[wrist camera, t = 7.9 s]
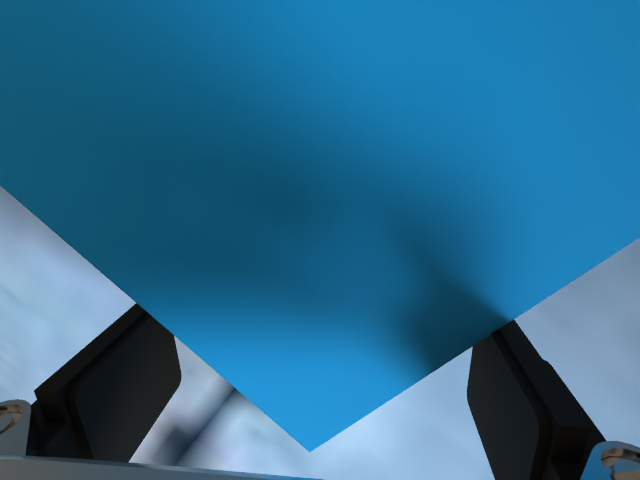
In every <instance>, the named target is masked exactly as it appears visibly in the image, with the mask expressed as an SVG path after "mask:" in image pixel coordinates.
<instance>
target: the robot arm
mask: <svg viewBox="0 0 640 480" xmlns="http://www.w3.org/2000/svg"><path fill="white" fill-rule="evenodd" d="M180 382H181V369H180V364H179V359H178V354H177V349H176V344H175V339H174V335H173V334H172V333H171V332H170V331H169V330H168V329H166V328H165V327H164V326H163V325H162V324H161V323H159V322H158V321H157V320H156V319H155V318H154V317H152V315H150V314H149V313H148V312H147V311H146V310H144V309H143V308H142V307H141V306H140V305H139V304H137V303H136V304H135V305H134V306H133V307H131V308H130V309H129V310H128V311H127V312H126V313H124V314H123V315H122V316H121V317H120V318H119V319H117V320H116V321H115V322H114V323H113V324H112V325H110V326H109V327H108V328H107V329H106V330H105V331H103V332H102V333H101V334H100V335H99V336H97V337H96V338H95V339H94V340H93V341H92V342H90V343H89V344H88V345H87V346H86V347H85V348H83V349H82V350H81V351H80V352H79V353H78V354H76V355H75V356H74V357H73V358H72V359H71V360H69V361H68V362H67V363H66V364H65V365H63V366H62V367H61V368H60V369H59V370H58V371H56V372H55V373H54V374H53V375H52V376H51V377H49V378H48V379H47V380H46V381H45V382H44V383H42V384H41V385H40V386H39V387H38V388H37V389H35V390H34V392H35V395H36V398H37V400H36V401H35V402H34V403H33V404H32V405H30V403H28V402H27V401H26V400H19V399H16V400H7V401H4V402H0V480H322V479H311V478H300V477H289V476H278V475H267V474H256V473H245V472H234V471H222V470H211V469H200V468H188V467H176V466H164V465H152V464H140V463H128V462H129V460H130V459H131V457H132V456H133V454H134V453H135V451H136V450H137V448H138V447H139V445H140V444H141V442H142V441H143V439H144V438H145V436H146V435H147V433H148V432H149V430H150V429H151V427H152V426H153V424H154V423H155V421H156V420H157V418H158V417H159V415H160V414H161V412H162V411H163V409H164V408H165V406H166V405H167V403H168V402H169V400H170V399H171V397H172V396H173V394H174V393H175V391H176V390H177V388H178V387H179V385H180ZM467 400H468V404H469V407H470V410H471V413H472V416H473V419H474V421H475V424H476V427H477V430H478V433H479V436H480V438H481V441H482V444H483V447H484V450H485V452H486V455H487V458H488V461H489V464H490V467H491V469H492V472H493V475H494V478H495V480H640V448H639V447H636V446H634V445H631V444H627V443H623V442H618V441H606V440H605V438H604V437H603V435H602V434H601V433H600V431H599V430H598V429H597V427H596V426H595V424H594V423H593V422H592V420H591V419H590V418H589V416H588V415H587V414H586V412H585V411H584V409H583V408H582V407H581V405H580V404H579V403H578V401H577V400H576V399H575V397H574V396H573V394H572V393H571V392H570V390H569V389H568V388H567V386H566V385H565V383H564V382H563V381H562V379H561V378H560V377H559V375H558V374H557V373H556V371H555V370H554V368H553V367H552V366H551V365H550V364H549V363H548V362H547V361H545V360H543V359H542V358H541V356H540V355H539V354H538V352H537V351H536V349H535V348H534V347H533V345H532V344H531V342H530V341H529V340H528V338H527V337H526V335H525V334H524V333H523V331H522V330H521V328H520V327H519V326H518V324H517V323H516V321H515V320H514V319H513V320H512V321H510V322H509V323H507V324H506V325H504V326H503V327H501V328H500V329H498V330H496V331H495V332H493V333H490V335H489V336H487V337H486V338H484V339H483V340H481V341H480V342H478V343H477V344H475V345H473V350H472V357H471V364H470V372H469V379H468V387H467Z"/></svg>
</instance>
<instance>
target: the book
mask: <svg viewBox="0 0 640 480" xmlns="http://www.w3.org/2000/svg"><path fill="white" fill-rule="evenodd" d="M0 185H1V186H2V187H3V188H4V189H5V190H6V191H8V192H9V193H10V194H11V195H12V196H13V197H15V198H16V199H17V200H18V201H19V202H20V203H22V204H23V205H24V206H25V207H26V208H27V209H28V210H30V211H31V212H32V213H33V214H34V215H35V216H37V217H38V218H39V219H40V220H41V221H42V222H44V223H45V224H46V225H47V226H48V227H49V228H50V229H52V230H53V231H54V232H55V233H56V234H57V235H59V236H60V237H61V238H62V239H63V240H64V241H66V242H67V243H68V244H69V245H70V246H71V247H73V248H74V249H75V250H76V251H77V252H78V253H79V254H81V255H82V256H83V257H84V258H85V259H86V260H88V261H89V262H90V263H91V264H92V265H93V266H95V267H96V268H97V269H98V270H99V271H100V272H101V273H103V274H104V275H105V276H106V277H107V278H108V279H110V280H111V281H112V282H113V283H114V284H115V285H117V286H118V287H119V288H120V289H121V290H122V291H124V292H125V293H126V294H127V295H128V296H129V297H130V298H132V299H133V300H134V301H135V302H136V303H137V304H139V305H140V306H141V307H142V308H143V309H144V310H146V311H147V312H148V313H149V314H150V315H152V317H154V318H155V319H156V320H157V321H158V322H159V323H161V324H162V325H163V326H164V327H165V328H166V329H168V330H169V331H170V332H171V333H172V334H173V335H175V336H176V337H177V338H178V339H179V340H180V341H181V342H183V343H184V344H185V345H186V346H187V347H188V348H190V349H191V350H192V351H193V352H194V353H195V354H197V355H198V356H199V357H200V358H201V359H202V360H203V361H205V362H206V363H207V364H208V365H209V366H210V367H212V368H213V369H214V370H215V371H216V372H217V373H219V374H220V375H221V376H222V377H223V378H224V379H226V380H227V381H228V382H229V383H230V384H231V385H232V386H234V387H235V388H236V389H237V390H238V391H239V392H241V393H242V394H243V395H244V396H245V397H246V398H248V399H249V400H250V401H251V402H252V403H253V404H255V405H256V406H257V407H258V408H259V409H260V410H261V411H263V412H264V413H265V414H266V415H267V416H268V417H270V418H271V419H272V420H273V421H274V422H275V423H277V424H278V425H279V426H280V427H281V428H282V429H283V430H285V431H286V432H287V433H288V434H289V435H290V436H292V437H293V438H294V439H295V440H296V441H297V442H299V443H300V444H301V445H302V446H303V447H304V448H306V449H307V450H308V451H309V452H311V451H312V450H314V449H315V448H317V447H318V446H320V445H321V444H323V443H325V442H326V441H328V440H329V439H331V438H332V437H334V436H335V435H337V434H338V433H340V432H341V431H343V430H344V429H346V428H348V427H349V426H351V425H352V424H354V423H355V422H357V421H358V420H360V419H361V418H363V417H364V416H366V415H368V414H369V413H371V412H372V411H374V410H375V409H377V408H378V407H380V406H381V405H383V404H384V403H386V402H387V401H389V400H391V399H392V398H394V397H395V396H397V395H398V394H400V393H401V392H403V391H404V390H406V389H407V388H409V387H411V386H412V385H414V384H415V383H417V382H418V381H420V380H421V379H423V378H424V377H426V376H427V375H429V374H430V373H432V372H434V371H435V370H437V369H438V368H440V367H441V366H443V365H444V364H446V363H447V362H449V361H450V360H452V359H453V358H455V357H457V356H458V355H460V354H461V353H463V352H464V351H466V350H467V349H469V348H470V347H472V346H473V345H475V344H477V343H478V342H480V341H481V340H483V339H484V338H486V337H487V336H489V335H490V333H493V332H495V331H496V330H498V329H500V328H501V327H503V326H504V325H506V324H507V323H509V322H510V321H512V320H513V319H515V318H516V317H518V316H519V315H521V314H523V313H524V312H526V311H527V310H529V309H530V308H532V307H533V306H535V305H536V304H538V303H539V302H541V301H543V300H544V299H546V298H547V297H549V296H550V295H552V294H553V293H555V292H556V291H558V290H559V289H561V288H562V287H564V286H566V285H567V284H569V283H570V282H572V281H573V280H575V279H576V278H578V277H579V276H581V275H582V274H584V273H585V272H587V271H589V270H590V269H592V268H593V267H595V266H596V265H598V264H599V263H601V262H602V261H604V260H605V259H607V258H609V257H610V256H612V255H613V254H615V253H616V252H618V251H619V250H621V249H622V248H624V247H625V246H627V245H628V244H630V243H632V242H633V241H635V240H636V239H638V238H639V237H640V0H0Z"/></svg>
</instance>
